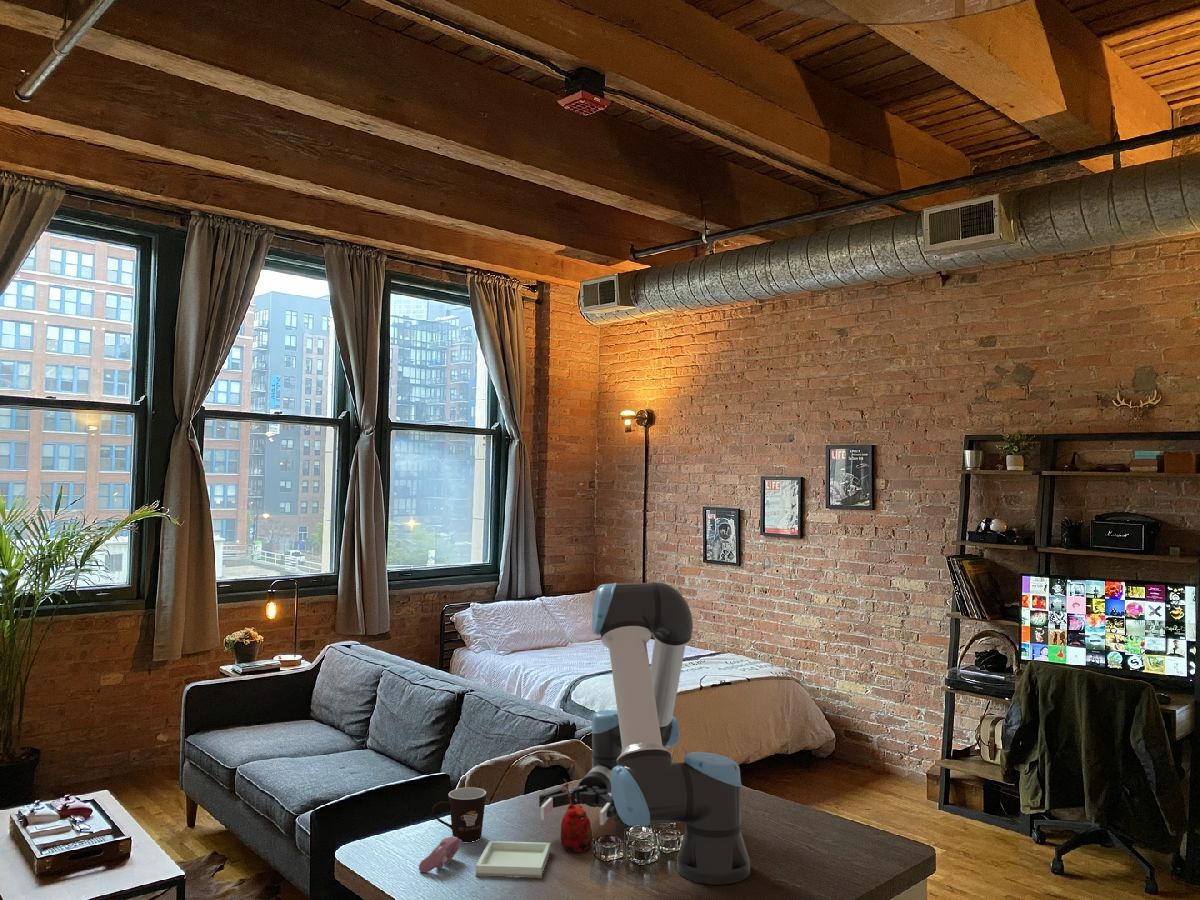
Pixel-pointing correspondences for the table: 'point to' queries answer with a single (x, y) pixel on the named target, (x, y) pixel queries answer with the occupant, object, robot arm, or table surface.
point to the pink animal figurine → (441, 854)
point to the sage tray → (513, 859)
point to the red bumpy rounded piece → (575, 827)
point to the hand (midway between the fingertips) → (571, 816)
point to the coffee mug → (465, 813)
